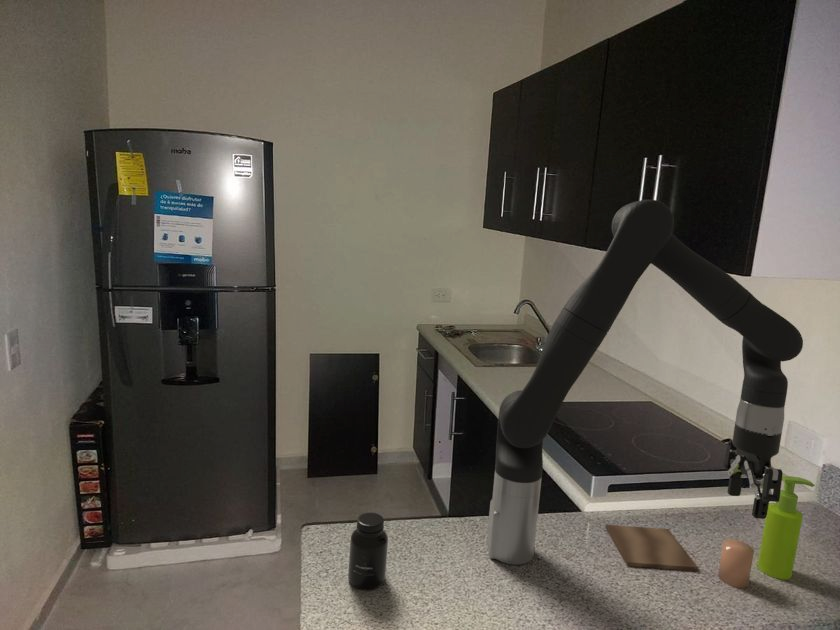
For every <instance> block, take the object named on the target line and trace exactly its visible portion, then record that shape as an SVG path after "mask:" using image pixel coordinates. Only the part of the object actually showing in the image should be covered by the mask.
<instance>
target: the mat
mask: <svg viewBox="0 0 840 630" xmlns="http://www.w3.org/2000/svg"><path fill="white" fill-rule="evenodd" d="M605 529H606V532H607V534H608V535H609V536H610V537H609V538H611V540H612V542H613V543H614V546H615V547H616V549H617V551H618V552H619V554H620V555H621V558H622V560H623V561H624V563H625V565H626V566H627V567H639V568H652V569H665V570H667V569H668V570H679V571H680V570H681V571H692V572H698V571H699V566H698V565H697V564H696V562H695V561H694V560H693V559H692V558H691V557H690V555H689V554H688V553H687V551H686V550H685V549H684V547H683V546H682V545H681V543H680V542H679V541H678V540H677V538H676V536H674V534H673V533H672V532H671V531H670V529H669V528H657V527H645V526H644V527H642V526H629V525H628V526H627V525H618V524H617V525H615V524H606V525H605Z"/></svg>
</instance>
